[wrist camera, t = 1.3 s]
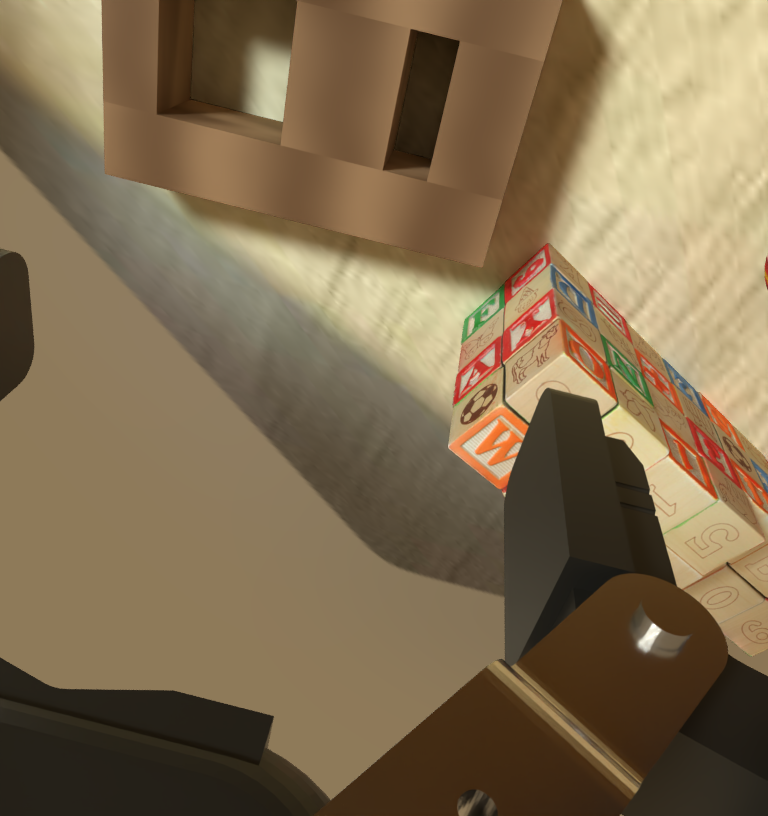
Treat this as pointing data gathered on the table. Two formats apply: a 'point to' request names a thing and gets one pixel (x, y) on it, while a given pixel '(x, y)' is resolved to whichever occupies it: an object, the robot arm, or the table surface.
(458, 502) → the table surface
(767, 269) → the soda can
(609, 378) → the stack of blocks
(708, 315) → the table surface
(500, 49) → the plate
